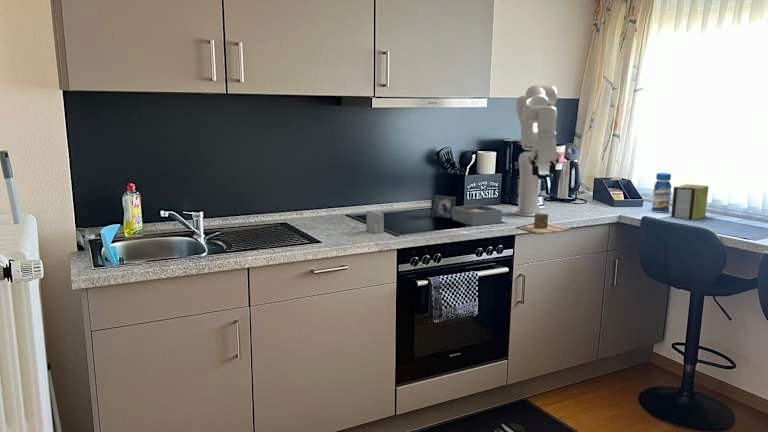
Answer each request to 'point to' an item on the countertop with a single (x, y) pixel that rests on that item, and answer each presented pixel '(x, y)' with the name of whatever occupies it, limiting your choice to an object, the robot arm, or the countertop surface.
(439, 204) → the small box
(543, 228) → the oak lid
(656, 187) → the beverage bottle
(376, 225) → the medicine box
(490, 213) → the slate bin
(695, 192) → the protein box
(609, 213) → the countertop surface
